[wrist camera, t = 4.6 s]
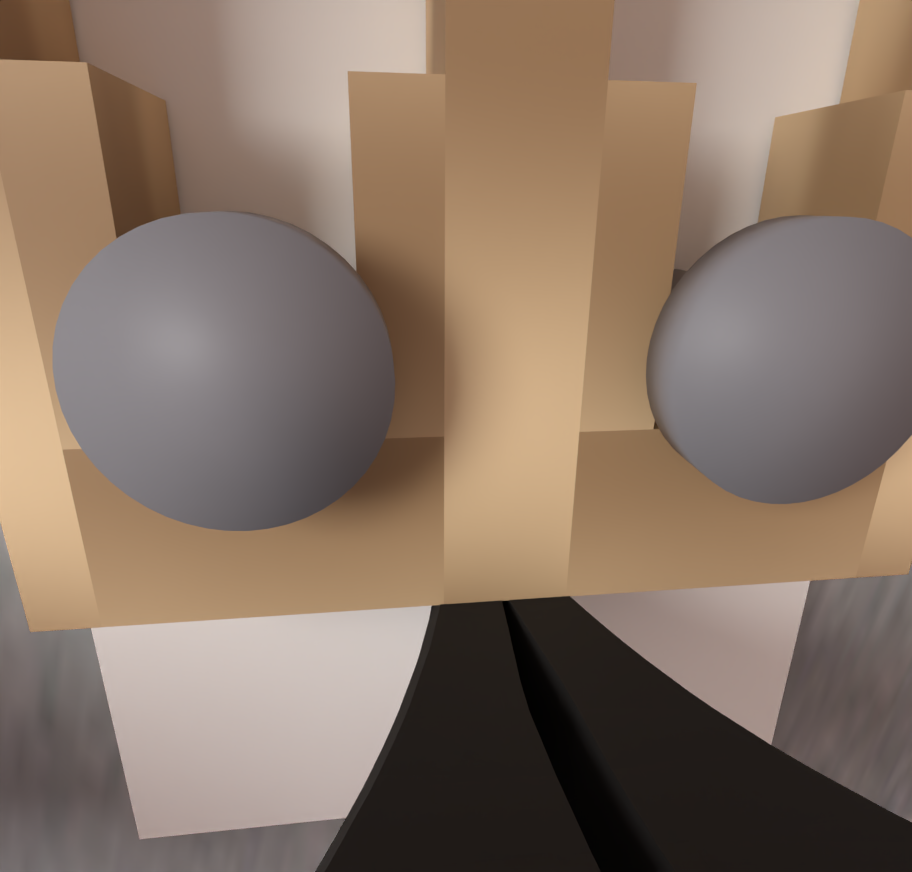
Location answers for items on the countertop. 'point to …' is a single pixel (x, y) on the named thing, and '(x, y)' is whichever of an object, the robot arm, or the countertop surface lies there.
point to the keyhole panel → (444, 329)
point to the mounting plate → (299, 170)
